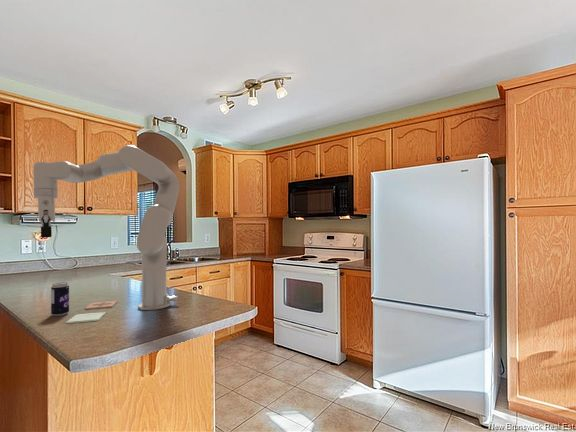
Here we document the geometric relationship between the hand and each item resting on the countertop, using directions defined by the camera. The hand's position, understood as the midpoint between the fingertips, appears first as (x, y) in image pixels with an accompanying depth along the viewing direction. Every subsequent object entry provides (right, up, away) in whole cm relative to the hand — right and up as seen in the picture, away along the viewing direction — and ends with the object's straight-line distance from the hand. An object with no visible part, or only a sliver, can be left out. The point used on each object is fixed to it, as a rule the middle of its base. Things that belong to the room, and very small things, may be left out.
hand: (46, 237), depth 127 cm
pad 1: (+21, -29, -8) cm, 37 cm away
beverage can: (+7, -30, -2) cm, 31 cm away
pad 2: (+16, -30, +11) cm, 36 cm away
